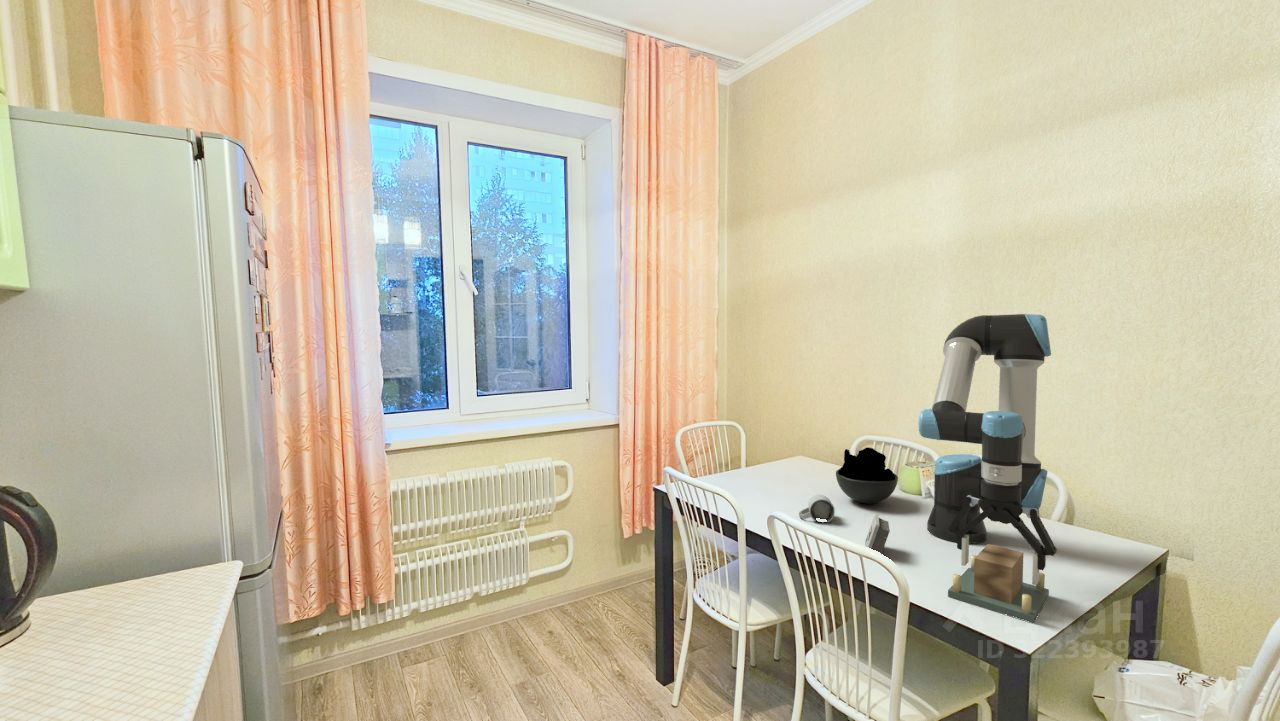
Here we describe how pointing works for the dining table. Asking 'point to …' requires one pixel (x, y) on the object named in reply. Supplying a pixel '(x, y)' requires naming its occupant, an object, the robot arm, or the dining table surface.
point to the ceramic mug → (818, 509)
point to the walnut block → (998, 573)
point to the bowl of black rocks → (866, 477)
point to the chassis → (1021, 607)
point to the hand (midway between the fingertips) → (998, 572)
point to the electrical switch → (877, 534)
